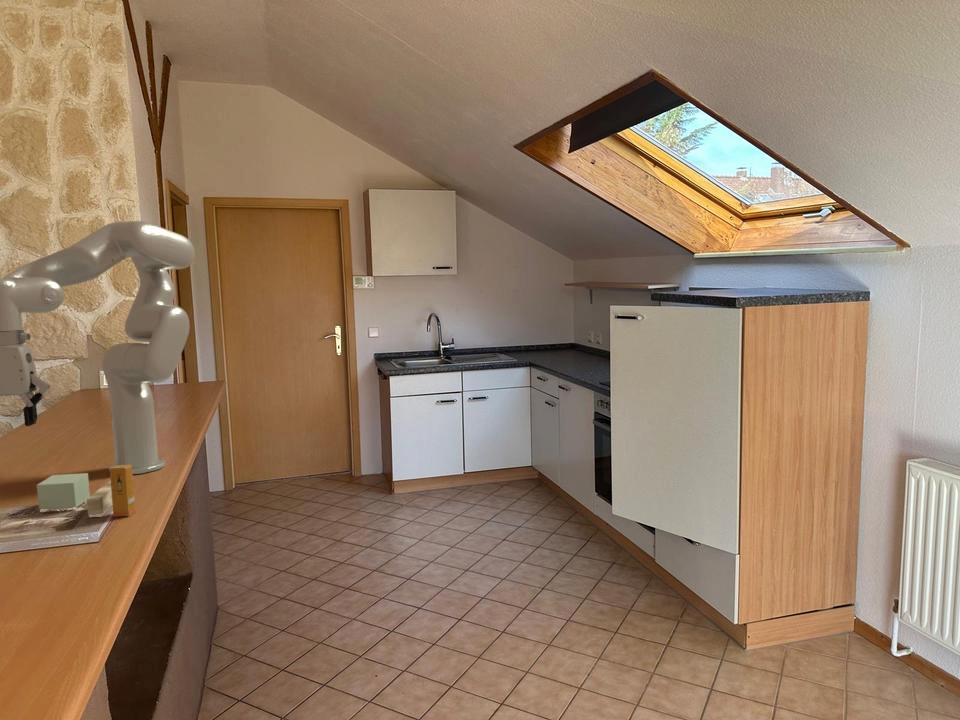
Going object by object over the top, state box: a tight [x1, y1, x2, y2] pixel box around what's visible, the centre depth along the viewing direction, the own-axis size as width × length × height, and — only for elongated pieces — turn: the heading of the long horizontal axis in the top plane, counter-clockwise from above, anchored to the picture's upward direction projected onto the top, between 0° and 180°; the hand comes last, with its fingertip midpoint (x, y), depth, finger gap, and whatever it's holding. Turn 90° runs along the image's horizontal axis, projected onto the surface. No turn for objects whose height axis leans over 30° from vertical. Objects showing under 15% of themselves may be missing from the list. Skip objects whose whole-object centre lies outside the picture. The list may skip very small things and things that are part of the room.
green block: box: [36, 472, 91, 510], centre depth 142 cm, size 7×7×6 cm
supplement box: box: [109, 465, 137, 518], centre depth 136 cm, size 3×3×10 cm
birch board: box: [86, 479, 112, 515], centre depth 143 cm, size 18×2×4 cm, turn 9°
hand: (10, 425), depth 139 cm, fingers open, 7 cm apart
